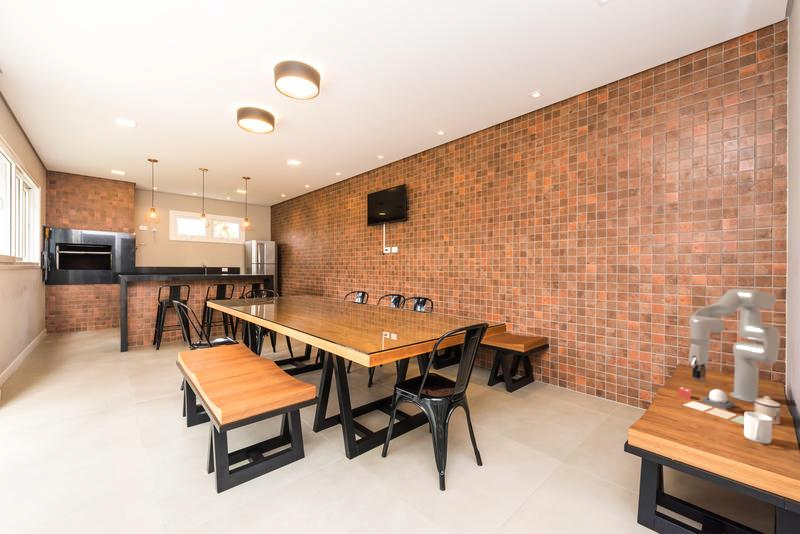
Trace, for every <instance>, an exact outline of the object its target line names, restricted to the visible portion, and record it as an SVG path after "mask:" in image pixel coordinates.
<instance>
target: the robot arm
mask: <svg viewBox="0 0 800 534" xmlns="http://www.w3.org/2000/svg"><path fill="white" fill-rule="evenodd" d="M776 300H777V299H776V297H775V296H774V295H773V294H772V293H769V292H765V291H761V290H756V289H748V288H731V289H728V290H727V291H726V292H725V293H724V294H723V295H722V296H721V297H720V298H719V299H718V301H716V303H712V304H710V305H709V304H708V305H706V306H704V307H701V308H699V309H697V310H695V312H694V313H693V314H692V315H691V316H690V318H689V321H688V322H689V323H688V324H689V326H690V339H689V340H690V341H689V344H690V346H689V354H688V363H689V364H690V366H691V369H692V370H691V371H692V373H691V375H692V378H693V377H694V378H698V379H700V365H703V367H704V369H705V370H706V371H707V364H708V363H709V359H710V357H709V354H710V352H709V347H710V339H711V337H710V336H711V334H710V333H717V334H718V333H721V332H723V331H724V330H725V329H726V323H725V321H724V320H722V319H720V317H727V316H728V317H729V316H731V315H733V314H735V313H736V312H737V310H739V313H740V318H739V326H738V335H739V337H740V338H742V339H743V340H748V341H737V342H735V343H734V344H733V346H732V353H733V357H734V374H733V375H734V377H733V379H734V381H733V391H732V392H731V391H730V393H729V396H730V397H732V398H734V399H737V400H739V401H743V402H749V403H754V399H755V398H760V397H759V376H760V375H759V374H760V373H759V370H760V369H759V366H758V364H757V362H758V363H762V364H768V365H773V364H775V363H777V362H778V357H779V351H780V350H779V349H780V344H781V343H780V342H781V333H780V331H779V329H778V328H777V327H775V326H772V325H767V324H766V325H765V324H763V323H762V322H763V314H762V312H761V311H760V309H764V310H765V309H767V310H769V309H773V307H774V306H775V305H776ZM749 341H753V342H749ZM754 342H759V343H754ZM760 343H763V344H760ZM696 365H697V366H698V367H697V366H696ZM706 376H707V372H706V373H705V378H706Z"/></svg>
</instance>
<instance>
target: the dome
mask: <svg viewBox="0 0 800 534" xmlns="http://www.w3.org/2000/svg"><path fill="white" fill-rule="evenodd" d="M708 396H709V400H710V401H714V402H717V403H721V404H727V400H728V396H727V394H726V393H725V392H724V391H723V390H721V389H718V388H717V389H715V388H714V389H712V390H710V391H709V395H708Z"/></svg>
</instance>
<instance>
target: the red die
mask: <svg viewBox="0 0 800 534" xmlns="http://www.w3.org/2000/svg"><path fill="white" fill-rule="evenodd" d="M678 397H679V398H684V399H688V400H691V399H692V389H690V388H685V387H683V386H682V387H679V388H678Z"/></svg>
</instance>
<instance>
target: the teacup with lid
mask: <svg viewBox="0 0 800 534" xmlns="http://www.w3.org/2000/svg"><path fill="white" fill-rule="evenodd" d="M781 408H782V405H781V404H780V403H779V402H778V401H775V400H773V399H772V398H771V397H770V396H768V395H767V396H766V395H764V397H759V398H755V399H754V402H753V412H756V413H760V414H764V415H766V416H769V417H771V418H772V425H775V426H776V425H780V424H781Z"/></svg>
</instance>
